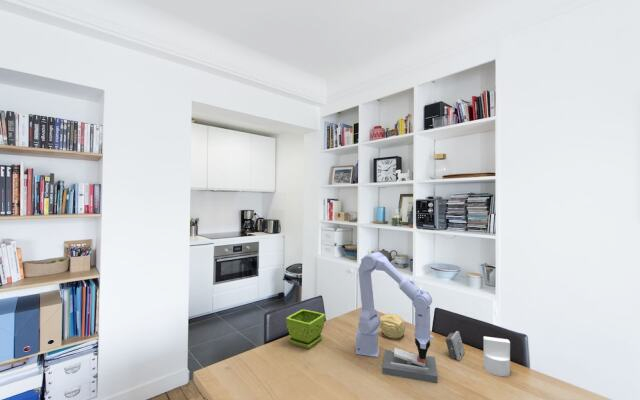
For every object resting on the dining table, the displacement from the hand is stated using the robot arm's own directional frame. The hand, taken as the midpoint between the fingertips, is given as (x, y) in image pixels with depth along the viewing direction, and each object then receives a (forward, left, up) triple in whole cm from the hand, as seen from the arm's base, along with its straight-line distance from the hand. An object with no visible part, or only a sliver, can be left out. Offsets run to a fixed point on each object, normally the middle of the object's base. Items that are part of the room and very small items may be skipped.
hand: (422, 358), depth 117 cm
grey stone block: (+14, +16, -5) cm, 22 cm away
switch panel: (-5, 0, -5) cm, 7 cm away
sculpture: (-13, +27, -5) cm, 30 cm away
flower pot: (-52, +8, -5) cm, 53 cm away
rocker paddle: (-5, 0, 0) cm, 5 cm away
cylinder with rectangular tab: (+28, +9, -5) cm, 30 cm away
